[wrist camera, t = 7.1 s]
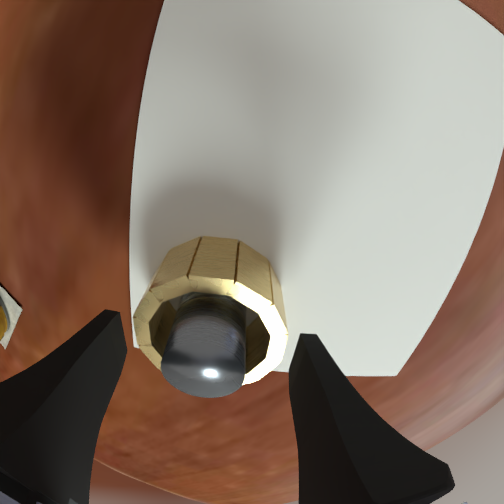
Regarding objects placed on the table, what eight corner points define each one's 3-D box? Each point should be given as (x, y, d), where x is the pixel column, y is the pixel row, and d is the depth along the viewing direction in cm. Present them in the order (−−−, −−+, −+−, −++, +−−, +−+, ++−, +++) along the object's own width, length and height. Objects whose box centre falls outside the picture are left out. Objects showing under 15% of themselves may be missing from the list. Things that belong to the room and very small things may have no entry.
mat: (510, 46, 7) (515, 46, 7) (393, 370, 16) (396, 375, 16) (195, -73, 6) (194, -78, 5) (136, 340, 15) (134, 346, 15)
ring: (290, 245, 12) (300, 286, 9) (269, 345, 14) (271, 392, 12) (152, 230, 12) (126, 267, 9) (159, 332, 14) (143, 377, 11)
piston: (252, 274, 12) (252, 352, 8) (240, 324, 14) (237, 402, 10) (186, 263, 12) (160, 336, 8) (182, 313, 13) (161, 389, 9)
